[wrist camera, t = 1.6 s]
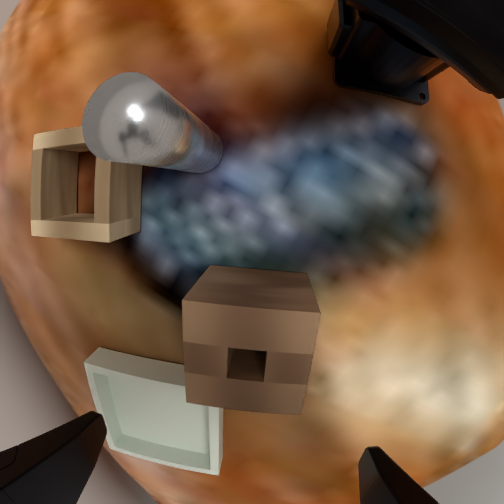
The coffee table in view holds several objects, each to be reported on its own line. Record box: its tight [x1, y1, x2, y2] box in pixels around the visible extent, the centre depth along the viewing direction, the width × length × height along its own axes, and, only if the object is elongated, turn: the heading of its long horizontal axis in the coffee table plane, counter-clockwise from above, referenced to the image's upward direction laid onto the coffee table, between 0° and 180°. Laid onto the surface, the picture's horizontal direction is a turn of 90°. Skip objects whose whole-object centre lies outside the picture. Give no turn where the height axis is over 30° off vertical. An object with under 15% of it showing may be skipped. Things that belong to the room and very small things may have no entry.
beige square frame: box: [31, 126, 142, 243], centre depth 16 cm, size 6×6×4 cm
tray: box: [84, 347, 224, 475], centre depth 20 cm, size 10×10×2 cm
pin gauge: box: [82, 72, 223, 173], centre depth 12 cm, size 3×3×10 cm
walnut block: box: [182, 265, 321, 415], centre depth 16 cm, size 6×6×6 cm
